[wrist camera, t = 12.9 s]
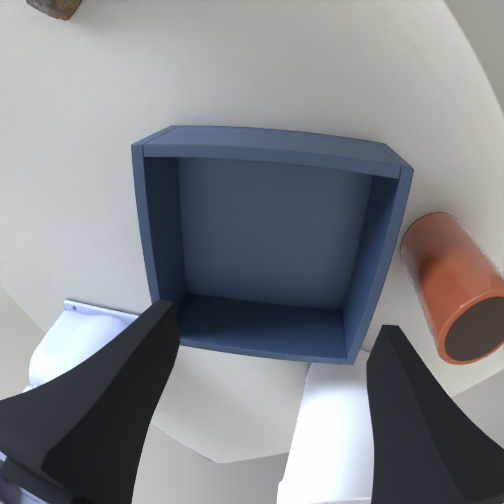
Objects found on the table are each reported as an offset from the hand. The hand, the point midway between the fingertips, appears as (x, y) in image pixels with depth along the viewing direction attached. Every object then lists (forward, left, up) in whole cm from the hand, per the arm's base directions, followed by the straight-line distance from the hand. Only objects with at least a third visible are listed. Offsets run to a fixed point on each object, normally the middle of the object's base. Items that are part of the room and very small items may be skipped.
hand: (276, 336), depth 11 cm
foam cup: (+6, -14, -10) cm, 18 cm away
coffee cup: (+10, -1, -10) cm, 14 cm away
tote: (-1, -1, -10) cm, 10 cm away
